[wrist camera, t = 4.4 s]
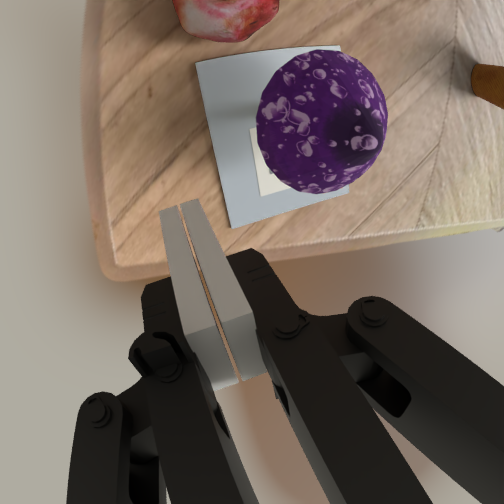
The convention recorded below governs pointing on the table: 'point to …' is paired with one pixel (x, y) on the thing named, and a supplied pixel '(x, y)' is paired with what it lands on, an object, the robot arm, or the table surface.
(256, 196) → the letter
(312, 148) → the decorative mushroom
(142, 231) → the table surface
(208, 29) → the fruit
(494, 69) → the disposable coffee cup
